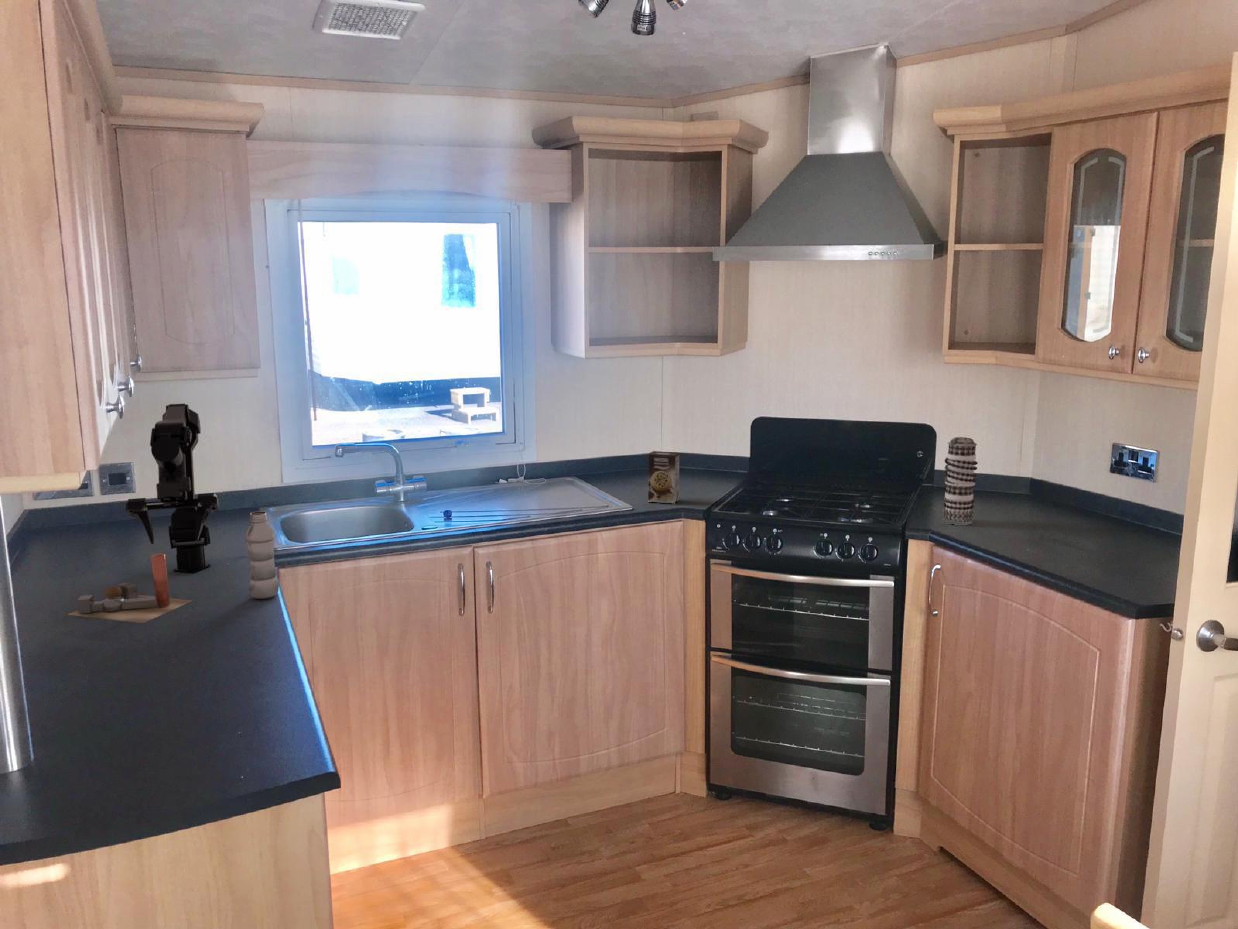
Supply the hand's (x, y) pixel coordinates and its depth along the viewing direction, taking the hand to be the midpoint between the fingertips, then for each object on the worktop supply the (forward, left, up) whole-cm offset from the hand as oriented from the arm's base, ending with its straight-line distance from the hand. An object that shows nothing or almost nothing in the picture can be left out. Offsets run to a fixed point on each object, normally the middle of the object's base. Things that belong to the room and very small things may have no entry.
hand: (174, 541), depth 220 cm
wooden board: (+7, -7, -15) cm, 18 cm away
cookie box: (-127, +80, -15) cm, 151 cm away
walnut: (+5, -13, -14) cm, 20 cm away
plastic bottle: (-10, +15, -15) cm, 23 cm away
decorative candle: (-124, +170, -15) cm, 211 cm away
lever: (+9, -7, -13) cm, 17 cm away
